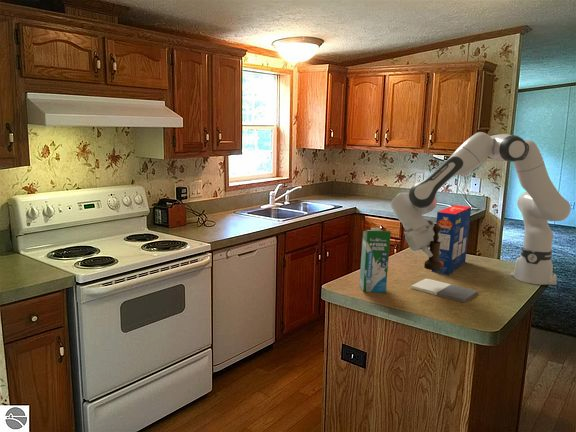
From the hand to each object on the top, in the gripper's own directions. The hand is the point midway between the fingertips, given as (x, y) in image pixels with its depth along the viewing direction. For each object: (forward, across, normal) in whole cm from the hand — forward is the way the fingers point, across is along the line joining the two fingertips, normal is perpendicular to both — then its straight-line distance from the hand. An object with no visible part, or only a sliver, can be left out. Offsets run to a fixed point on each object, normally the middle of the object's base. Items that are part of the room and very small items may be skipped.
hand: (435, 255), depth 193 cm
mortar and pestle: (+4, 0, +5) cm, 6 cm away
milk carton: (0, -21, +20) cm, 29 cm away
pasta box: (+1, +36, +19) cm, 40 cm away
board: (+13, +1, +6) cm, 15 cm away
